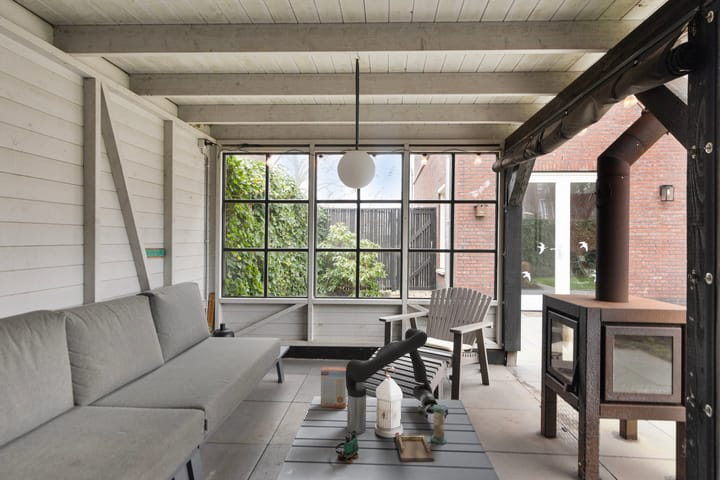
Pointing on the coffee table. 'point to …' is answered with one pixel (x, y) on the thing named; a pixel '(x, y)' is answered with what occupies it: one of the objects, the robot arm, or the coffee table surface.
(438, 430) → the bobbin
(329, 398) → the cracker box
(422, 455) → the brown wooden tray
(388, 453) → the coffee table surface
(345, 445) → the binoculars
